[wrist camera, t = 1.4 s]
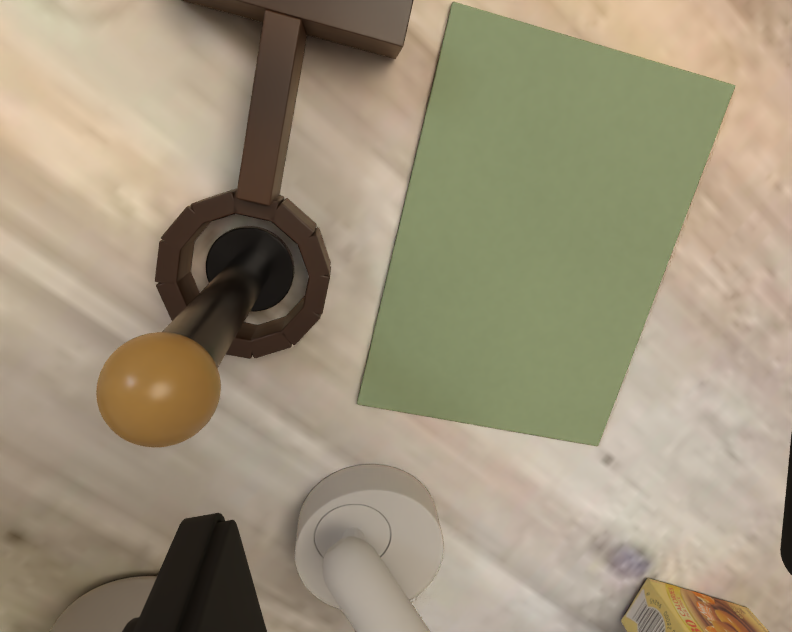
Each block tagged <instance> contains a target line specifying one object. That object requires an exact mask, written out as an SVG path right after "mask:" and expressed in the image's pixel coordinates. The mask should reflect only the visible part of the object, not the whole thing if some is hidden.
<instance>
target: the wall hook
mask: <svg viewBox="0 0 792 632" xmlns="http://www.w3.org/2000/svg"><path fill="white" fill-rule="evenodd" d="M443 552H444V542H443V536H442V531H441V527H440V523H439V519H438V515H437V511H436V507H435V504H434V501H433V499H432V497H431V495H430V493H429V492H428V490H427V489H426V488H425V487H424V486H423V484H422V483H421V482H419V481H418V480H417V479H416V478H414V477H413V476H411V475H410V474H408V473H406V472H404V471H402V470H400V469H397V468H394V467H390V466H385V465H377V464H366V465H358V466H353V467H349V468H345V469H343V470H340V471H338V472H336V473H334V474H332V475H330V476H328V477H327V478H325V479H324V480H323V481H321V482H320V483H319V484H318V485H317V486H316V487H315V488H314V489H313V490H312V491H311V492H310V493H309V495H308V496H307V498H306V500H305V501H304V503H303V505H302V508H301V511H300V515H299V520H298V528H297V536H296V545H295V563H296V568H297V571H298V574H299V576H300V578H301V580H302V582H303V583H304V585H305V586H306V588H307V589H308V590H309V591H310V592H311V593H312V594H313V595H314V596H315V597H317V598H318V599H319V600H321V601H323V602H324V603H326V604H328V605H330V606H332V607H335V608H338V609H341V610H342V611H343V613H344V614H345V616H346V617H347V619H348V621H349V622H350V624H351V625H352V627H353V628H354V630H355V631H356V632H430V630H429V629H428V627H427V626H426V624H425V623H424V621H423V620H422V618H421V617H420V615H419V614H418V612H417V611H416V609H415V608H414V606H413V605H412V603H411V602H410V600H412V599H413V598H415V597H416V596H418V595H419V594H420V593H421V592H422V591H424V590H425V589H426V588H427V587H428V585H429V584H430V583H431V582H432V580H433V579H434V577H435V576H436V574H437V572H438V570H439V568H440V565H441V563H442V559H443Z"/></svg>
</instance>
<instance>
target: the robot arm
mask: <svg viewBox="0 0 792 632" xmlns="http://www.w3.org/2000/svg"><path fill="white" fill-rule="evenodd" d="M780 550H781V557H782V561H783V563H784V565H785V567H786V568H787V570H788V572H789V573H790V574H791V575H792V434H791V445H790V455H789V466H788V476H787V487H786V497H785V507H784V518H783V528H782V539H781V549H780ZM122 632H267V630H266V627H265V623H264V620H263V616H262V613H261V609H260V605H259V602H258V598H257V595H256V591H255V587H254V584H253V580H252V577H251V573H250V570H249V566H248V562H247V559H246V555H245V552H244V548H243V544H242V541H241V537H240V534H239V530H238V527H237V524H236V522H235V521H234V520H229V521H225V519H224V517H223V515H222V514H220V513H215V514H209V515H203V516H198V517H192V518H186V519H184V520H182V522H181V524H180V525H179V528H178V530H177V532H176V535H175V537H174V539H173V541H172V544H171V546H170V548H169V551H168V553H167V555H166V557H165V560H164V562H163V564H162V567H161V569H160V571H159V573H158V576H157V578H156V580H155V582H154V585H153V587H152V589H151V592H150V594H149V596H148V598H147V601H146V603H145V605H144V608H143V610H142V612H141V614H140V617H137V618H133V619H132V620H130V621H129V622H128V623H127V624H126V626H125V627H124V629H123V631H122Z"/></svg>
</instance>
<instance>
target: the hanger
mask: <svg viewBox="0 0 792 632" xmlns="http://www.w3.org/2000/svg"><path fill="white" fill-rule="evenodd" d="M182 1H186V2H190V3H193V4H197V5H201V6H204V7H208V8H211V9H215V10H219V11H222V12H226V13H230V14H233V15H237V16H241V17H244V18H248V19H251V20H255V21H259V22H262V23H263V24H262V31H261V37H260V44H259V51H258V57H257V64H256V70H255V77H254V83H253V90H252V96H251V103H250V109H249V116H248V123H247V129H246V136H245V142H244V149H243V155H242V162H241V168H240V175H239V182H238V188H237V189H234V190H231V191H228V192H225V193H221V194H218V195H215V196H212V197H209V198H205V199H203V200H200V201H198V202H195V203H192V204H191V205H190V206H187V207H186V208H185V210H184V211H183V212H182V213H181V214H180V216H179V217H178V218H177V219H176V220H175V222H174V223H173V224H172V225H171V226H170V227H169V229H168V230H167V231H166V232H165V233H164V235H163V236H162V237H161V239H162V240H161V241H160V242H159V250H158V259H157V267H156V276H155V282H159V283H158V284H157V285H156V287H157V289H158V291H159V293H160V296H161V298H162V300H163V302H164V304H165V307H166V309H167V311H168V313H169V315H170V318H171V320H172V321H173V320H174V319H175V318H176V317H177V316H178V315H179V314H180V313H181V312H182V311H183V310H184V309H185V308H186V307H187V306H188V305H189V303H190V302H191V301H192V300H193V299H194V298H195V297H196V296H197V295H198V294H199V290H198V288H197V286H196V283H195V281H194V279H193V276H192V274H191V272H190V270H191V263H192V255H193V248H194V241H195V240H196V239H197V237H198V236H199V235H200V234H201V233H202V232H203V230H204V229H205V228H206V227H207V226H208V225H209V223H210V222H211V221H214V220H217V219H220V218H223V217H227V216H230V215H233V214H240V215H245V216H249V217H254V218H258V219H263V220H267V221H271V222H272V223H274V224H275V225H276V226H277V227H278V228H279V229H280V230H282V231H283V232H284V233H285V234H286V235H287V236H289V237H290V238H291V239H292V240H293V241H294V242H295V243H297V244H298V247H299V250H300V252H301V255H302V258H303V261H304V264H305V266H306V269H307V272H308V275H309V278H308V283H307V288H306V294H305V296H304V297H303V298H302V299H301V301H300V302H299V303H298V304H297V305H296V306H295V307H294V308H293V309H292V310H291V311H290V313H289V314H288V315H287V316H285V317H282V318H279V319H276V320H273V321H269V322H266V323H263V324H260V325H254V324H249V323H243V324H242V326H241V328H240V330H239V331H238V333H237V335H236V337H235V339H234V340H233V342H232V344H231V346H230V347H229V349H228V351H227V353H226V354H227V355H233V356H238V357H244V358H249V359H250V358H251V357H252V355H253V357H254V358H258V357H261V356H265V355H268V354H271V353H274V352H277V351H281V350H284V349H287V348H290V347H292V344H293V345H296V344H297V342H298V341H299V340H300V339H301V338H302V337H303V336H304V335H305V334H306V333H307V332H308V331H309V330H310V329H311V327H312V326H313V325H314V324H315V323H316V322H317V321H318V320H319V319H320V317H321V314H322V313H323V308H324V304H325V299H326V294H327V289H328V284H329V280H330V272H331V266H330V264H331V262H330V259H329V256H328V253H327V250H326V247H325V244H324V241H323V238H322V235H321V232H320V230H319V228H318V227H317V228H316V223H315V222H313V221H312V220H311V219H310V218H309V217H308V216H307V215H306V214H305V213H303V212H302V211H301V210H300V209H299V208H298V207H297V206H296V205H294V204H293V203H292V202H291V201H290V200H289V199H287V198H286V199H285V200H284V196H281V195H279V194H280V188H281V183H282V177H283V171H284V165H285V160H286V154H287V148H288V142H289V137H290V131H291V125H292V119H293V114H294V108H295V102H296V96H297V91H298V85H299V79H300V73H301V68H302V62H303V56H304V50H305V45H306V39H307V35H309V36H313V37H317V38H320V39H324V40H328V41H331V42H335V43H338V44H342V45H346V46H349V47H353V48H357V49H360V50H364V51H368V52H371V53H375V54H378V55H382V56H386V57H389V58H393V59H396V57H397V56H398V54H399V52H400V51H401V49H402V47H403V45H404V41H405V36H406V32H407V27H408V22H409V18H410V13H411V9H412V4H413V0H182Z"/></svg>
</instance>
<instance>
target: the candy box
mask: <svg viewBox="0 0 792 632" xmlns="http://www.w3.org/2000/svg"><path fill="white" fill-rule="evenodd" d="M621 621H622V624H623V626H624V627H625V629H626V631H627V632H769V631H768V630H767V629H766V628H765V627H764V626H763V625H762V623H761V622H760V621H759V620H758V619H757V618H756V617H755V615H754V614H753V613H752V612H751V611H750V610H749V609H748V608H747V607H742V606H739V605H737V604H734V603H731V602H727V601H724V600H720V599H716V598H713V597H710V596H707V595H704V594H700V593H697V592H693V591H690V590H686V589H683V588H679V587H677V586H673V585H670V584H666V583H663V582H659V581H656V580H652V579H646V581H645V583H644V584H643V586H642V587H641V589H640V591H639V592H638V594H637V596H636V597H635V599H634V601H633V602H632V604H631V606H630V607H629V609H628V611H627V612H626V614H625V615H624V617H623V618H622V620H621Z"/></svg>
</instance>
